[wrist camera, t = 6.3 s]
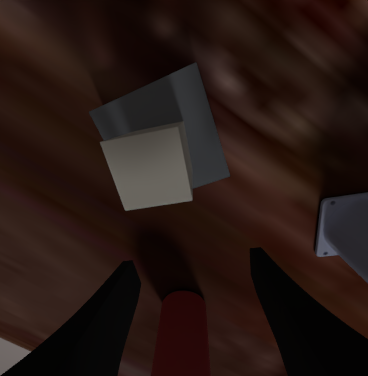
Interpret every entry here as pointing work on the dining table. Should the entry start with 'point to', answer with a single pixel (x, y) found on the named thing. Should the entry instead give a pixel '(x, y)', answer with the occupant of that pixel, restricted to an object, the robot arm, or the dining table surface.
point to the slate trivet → (170, 119)
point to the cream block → (151, 166)
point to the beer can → (182, 337)
